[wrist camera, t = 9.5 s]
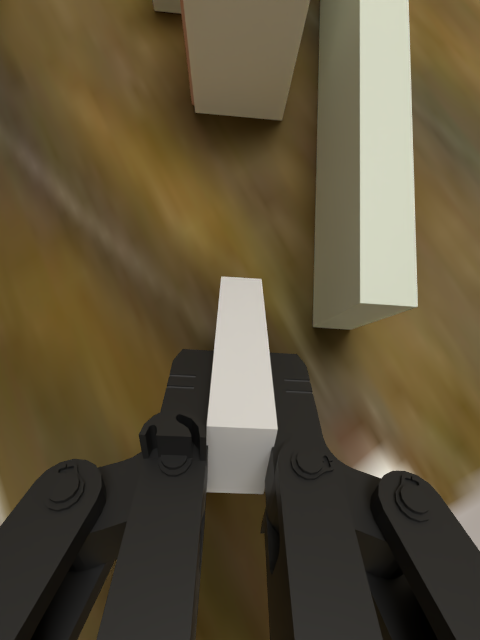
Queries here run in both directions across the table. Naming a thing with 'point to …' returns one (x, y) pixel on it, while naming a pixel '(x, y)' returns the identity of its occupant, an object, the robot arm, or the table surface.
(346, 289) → the white u-shaped frame
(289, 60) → the book
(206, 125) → the table surface
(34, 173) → the table surface
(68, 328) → the table surface
